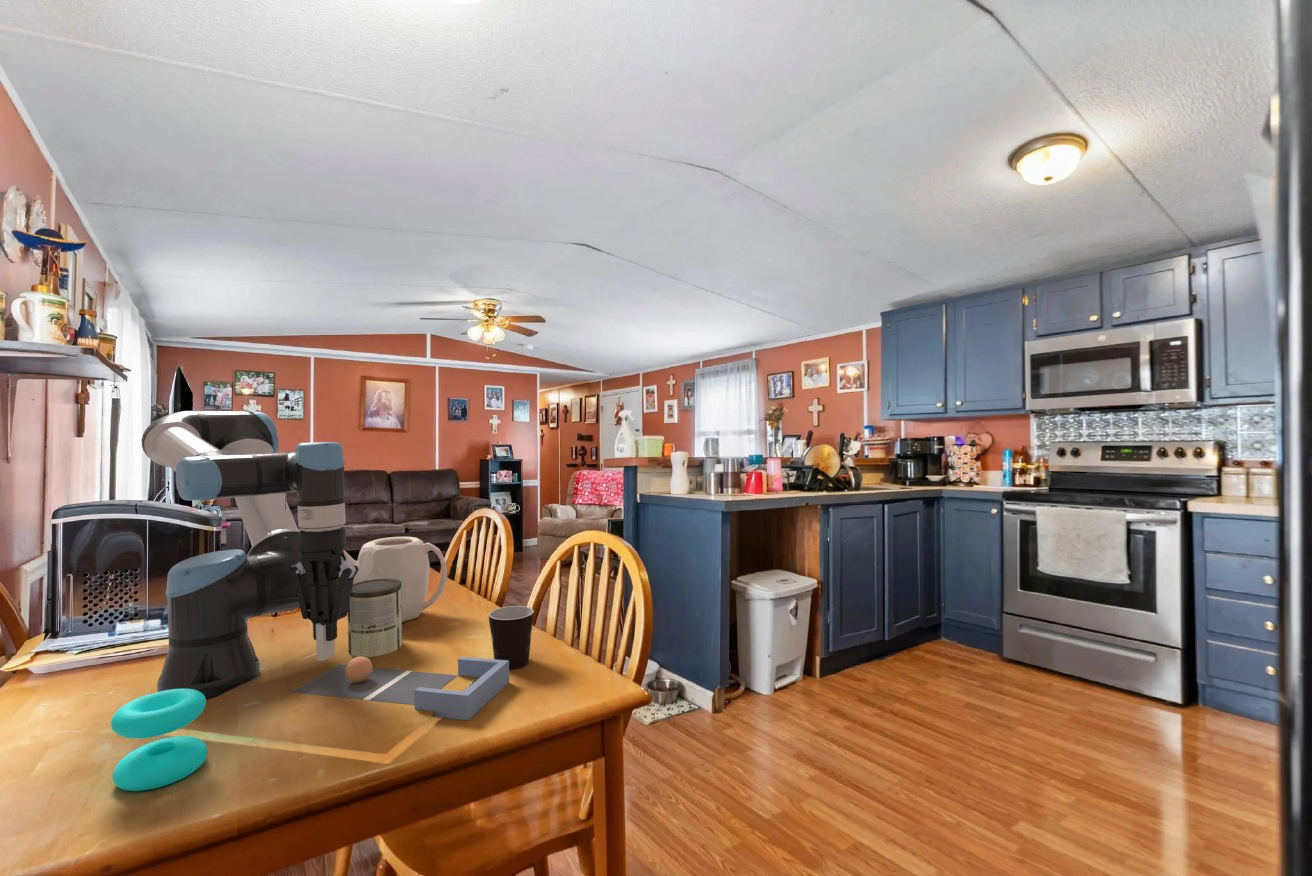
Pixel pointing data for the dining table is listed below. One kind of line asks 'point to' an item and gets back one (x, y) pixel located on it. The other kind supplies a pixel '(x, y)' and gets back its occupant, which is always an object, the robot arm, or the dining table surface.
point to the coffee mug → (511, 634)
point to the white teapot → (401, 569)
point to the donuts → (162, 756)
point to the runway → (375, 685)
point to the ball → (358, 669)
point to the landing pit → (474, 697)
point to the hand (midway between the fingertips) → (325, 657)
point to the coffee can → (375, 618)
